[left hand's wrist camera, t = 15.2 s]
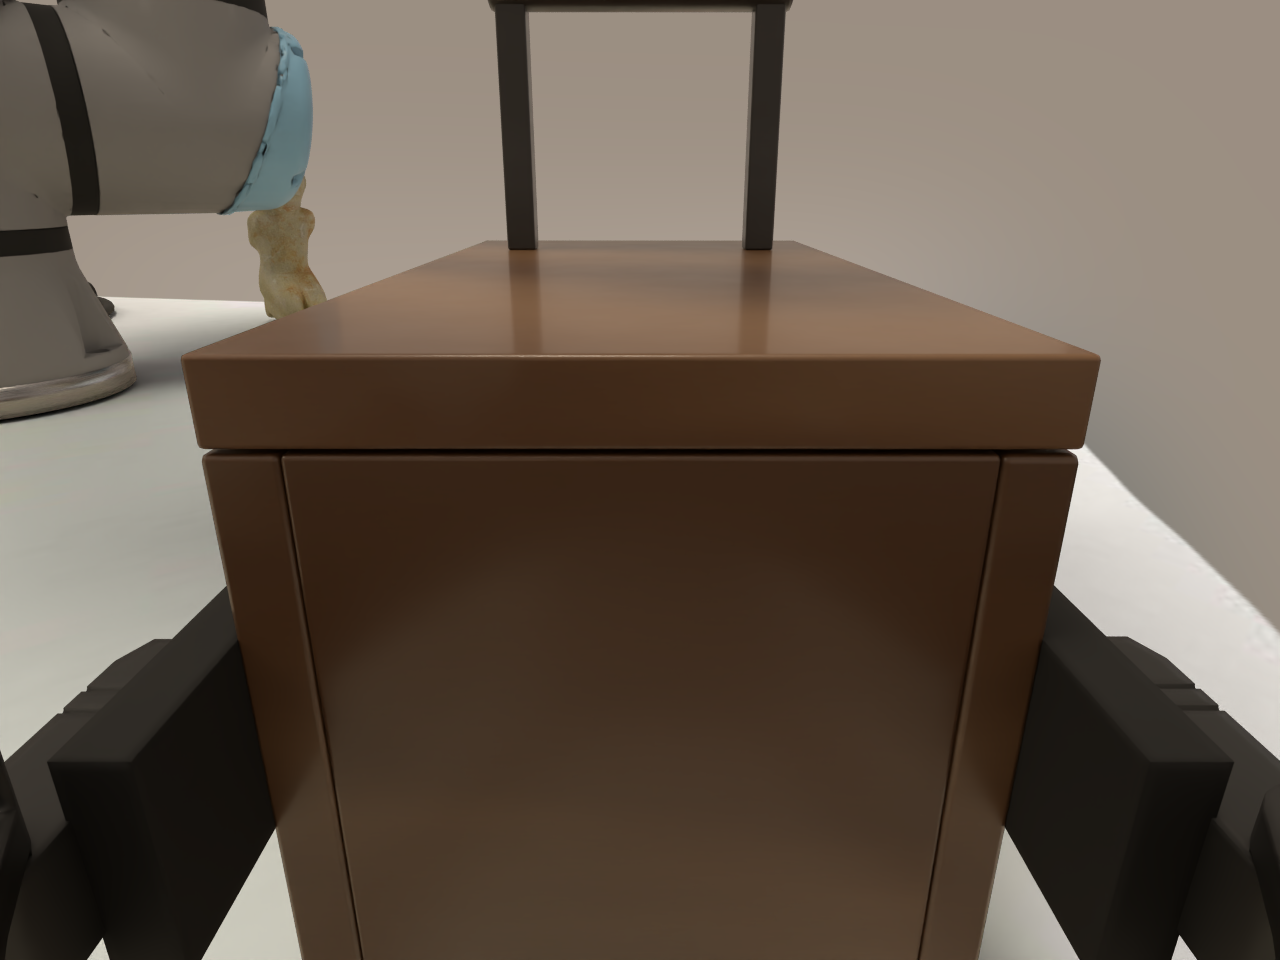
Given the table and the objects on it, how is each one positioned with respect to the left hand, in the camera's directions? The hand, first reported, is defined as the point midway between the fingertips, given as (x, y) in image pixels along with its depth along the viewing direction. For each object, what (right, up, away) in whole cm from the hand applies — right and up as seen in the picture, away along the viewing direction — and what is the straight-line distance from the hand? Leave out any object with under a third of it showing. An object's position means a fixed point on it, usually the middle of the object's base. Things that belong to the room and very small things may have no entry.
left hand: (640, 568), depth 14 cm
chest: (0, -5, +5) cm, 7 cm away
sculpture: (-33, +16, +62) cm, 72 cm away
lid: (0, +5, +2) cm, 5 cm away
